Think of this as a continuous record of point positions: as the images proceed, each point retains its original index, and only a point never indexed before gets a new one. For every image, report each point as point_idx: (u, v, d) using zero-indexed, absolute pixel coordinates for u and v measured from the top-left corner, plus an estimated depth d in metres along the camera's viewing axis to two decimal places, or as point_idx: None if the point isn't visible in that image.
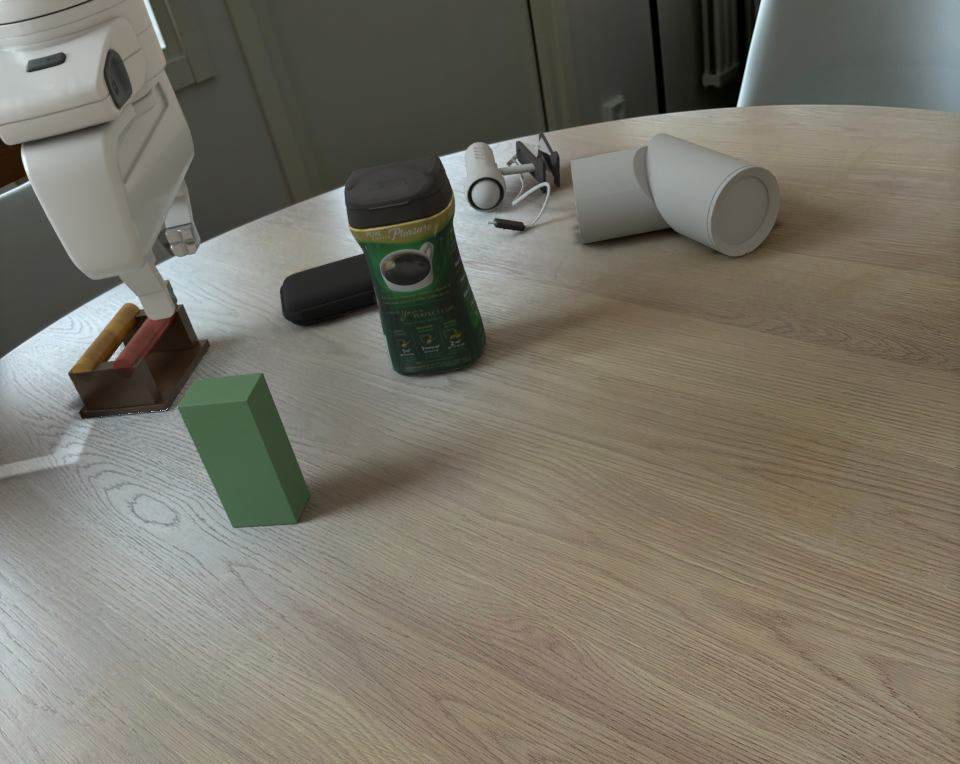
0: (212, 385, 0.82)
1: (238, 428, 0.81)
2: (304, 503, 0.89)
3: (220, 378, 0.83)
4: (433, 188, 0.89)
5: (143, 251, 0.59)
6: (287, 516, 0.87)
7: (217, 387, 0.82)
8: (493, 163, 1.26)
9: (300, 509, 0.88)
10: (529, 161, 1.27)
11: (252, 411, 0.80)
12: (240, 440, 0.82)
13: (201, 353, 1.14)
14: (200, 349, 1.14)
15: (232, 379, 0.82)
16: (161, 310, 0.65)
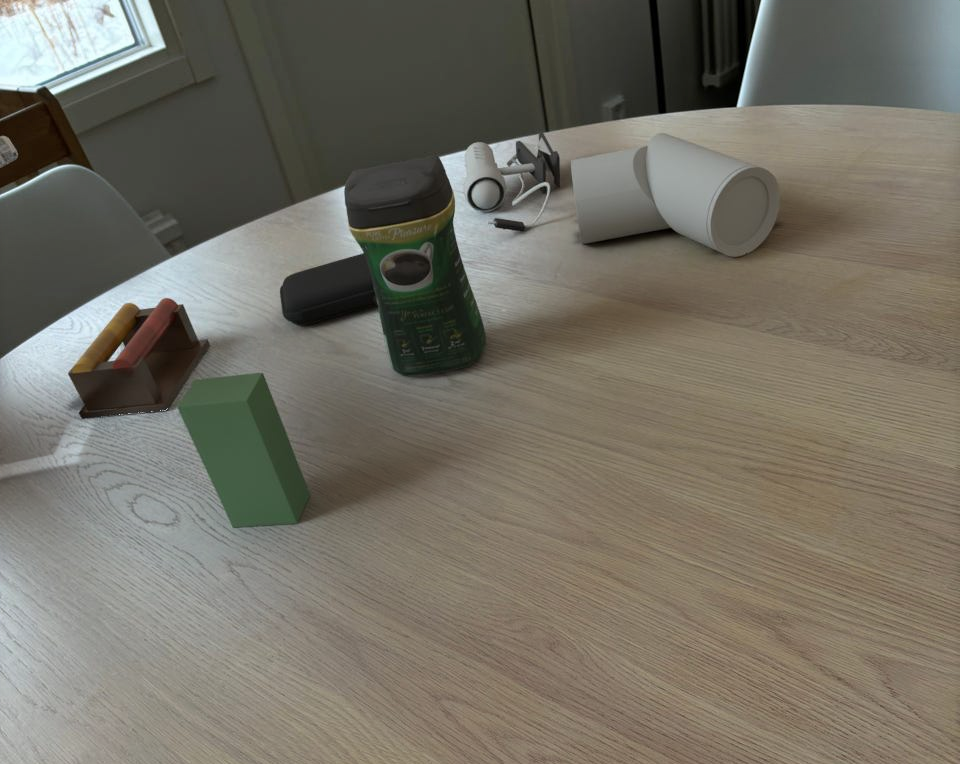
0: (212, 385, 0.82)
1: (238, 428, 0.81)
2: (304, 503, 0.89)
3: (220, 378, 0.83)
4: (433, 188, 0.89)
5: None
6: (287, 516, 0.87)
7: (217, 387, 0.82)
8: (493, 163, 1.26)
9: (300, 509, 0.88)
10: (529, 161, 1.27)
11: (252, 411, 0.80)
12: (240, 440, 0.82)
13: (201, 353, 1.14)
14: (200, 349, 1.14)
15: (232, 379, 0.82)
16: None
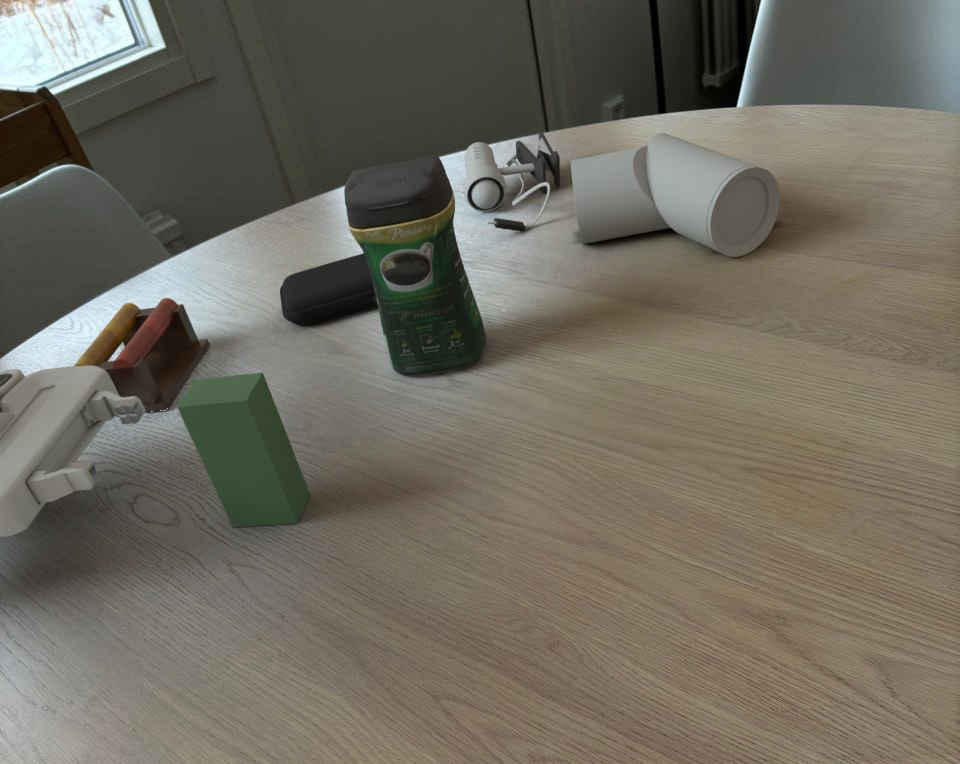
0: (212, 385, 0.82)
1: (238, 428, 0.81)
2: (304, 503, 0.89)
3: (220, 378, 0.83)
4: (433, 188, 0.89)
5: None
6: (287, 516, 0.87)
7: (217, 387, 0.82)
8: (493, 163, 1.26)
9: (300, 509, 0.88)
10: (529, 161, 1.27)
11: (252, 411, 0.80)
12: (240, 440, 0.82)
13: (201, 353, 1.14)
14: (200, 349, 1.14)
15: (232, 379, 0.82)
16: None
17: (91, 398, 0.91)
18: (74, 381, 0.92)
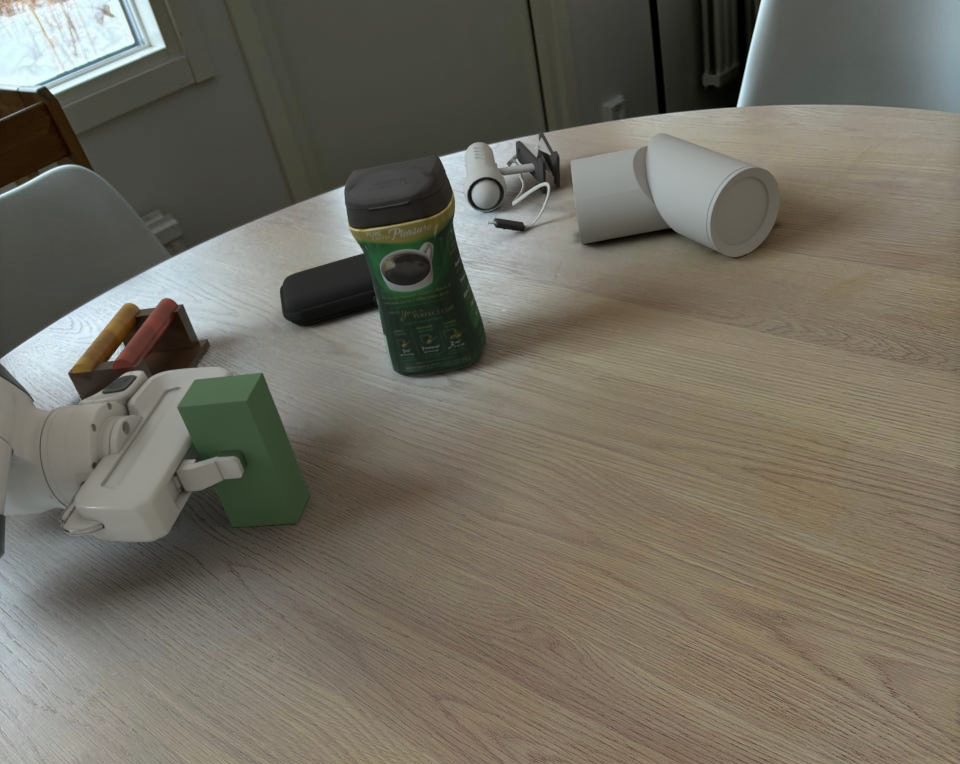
0: (212, 385, 0.82)
1: (238, 428, 0.81)
2: (304, 503, 0.89)
3: (220, 378, 0.83)
4: (433, 188, 0.89)
5: None
6: (287, 516, 0.87)
7: (217, 387, 0.82)
8: (493, 163, 1.26)
9: (300, 509, 0.88)
10: (529, 161, 1.27)
11: (252, 411, 0.80)
12: (240, 440, 0.82)
13: (201, 353, 1.14)
14: (200, 349, 1.14)
15: (231, 379, 0.82)
16: None
17: None
18: None
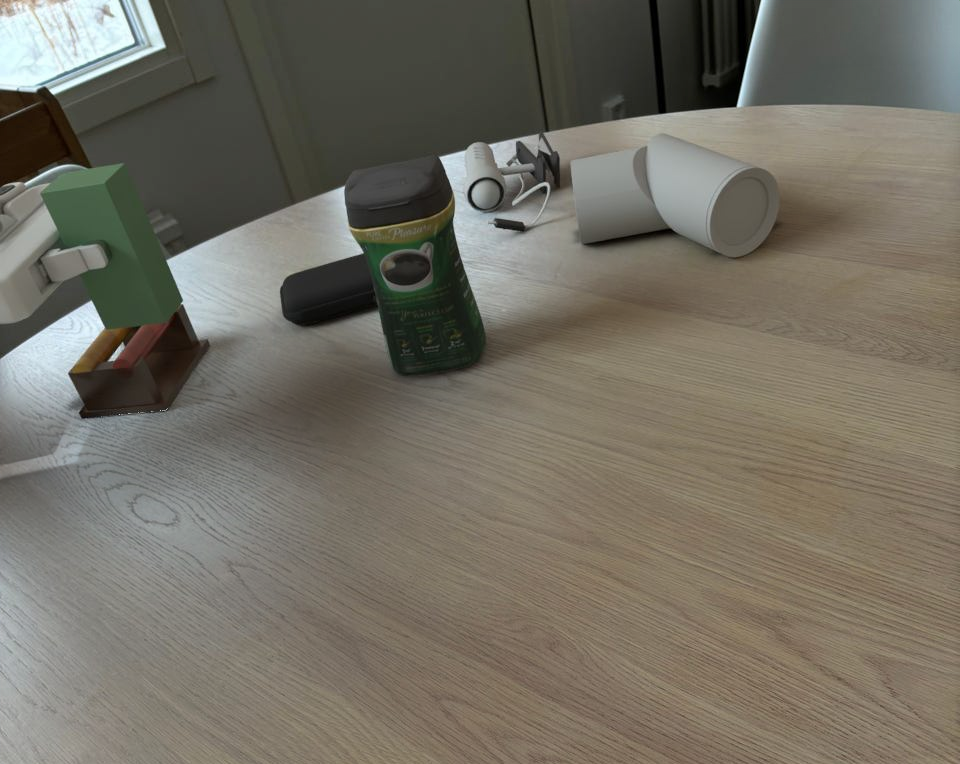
0: (76, 175, 0.84)
1: (100, 215, 0.84)
2: (176, 307, 0.91)
3: (85, 170, 0.85)
4: (433, 188, 0.89)
5: None
6: (156, 314, 0.89)
7: (81, 176, 0.84)
8: (493, 163, 1.26)
9: (170, 310, 0.90)
10: (529, 161, 1.27)
11: (111, 195, 0.82)
12: (103, 229, 0.84)
13: (201, 353, 1.14)
14: (200, 349, 1.14)
15: (95, 170, 0.85)
16: None
17: None
18: None
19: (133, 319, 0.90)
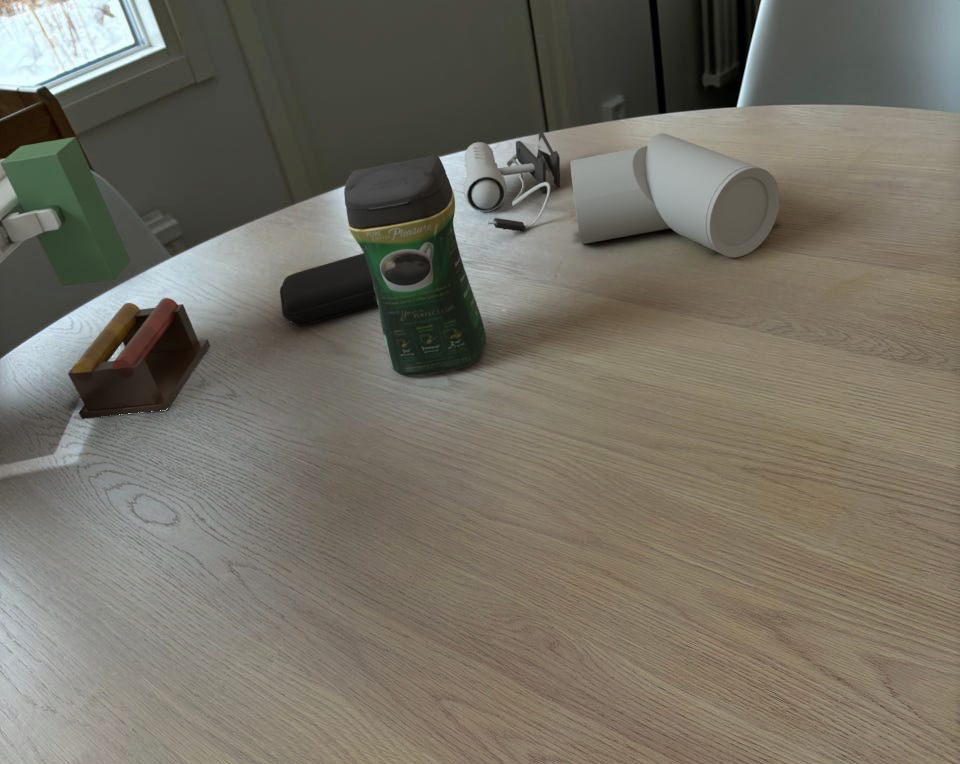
0: (33, 148, 0.96)
1: (53, 182, 0.95)
2: (124, 266, 1.03)
3: (40, 143, 0.97)
4: (433, 188, 0.89)
5: None
6: (105, 272, 1.01)
7: (36, 148, 0.96)
8: (493, 163, 1.26)
9: (118, 269, 1.02)
10: (529, 161, 1.27)
11: (62, 164, 0.94)
12: (56, 195, 0.96)
13: (201, 353, 1.14)
14: (200, 349, 1.14)
15: (49, 143, 0.96)
16: None
17: None
18: None
19: (85, 276, 1.02)
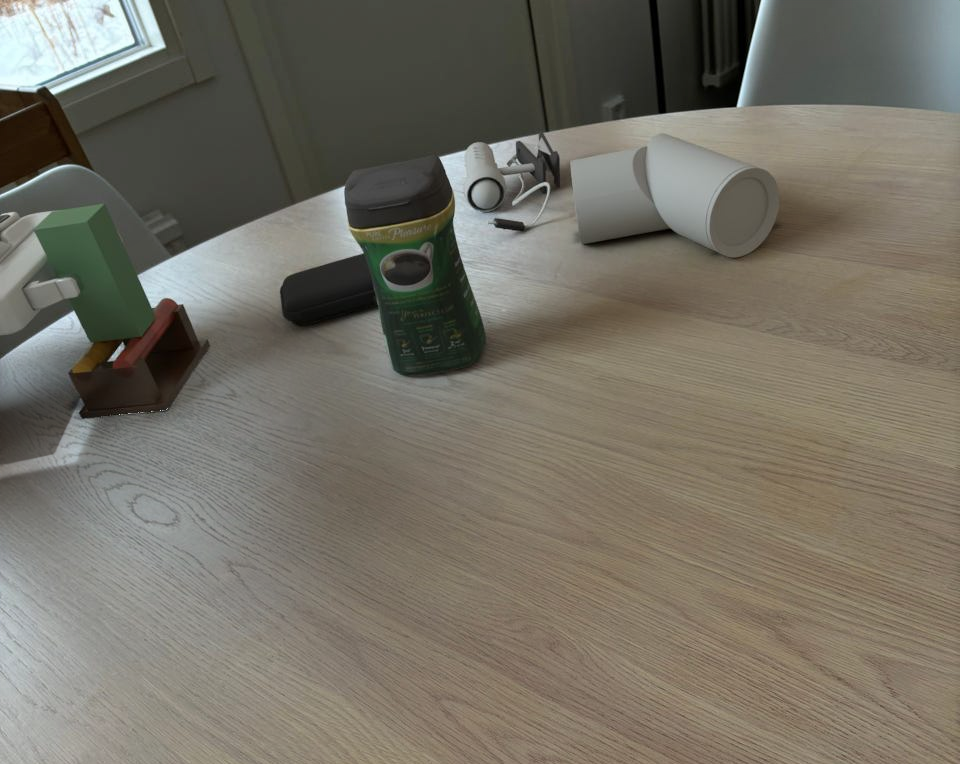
0: (64, 214, 1.01)
1: (84, 247, 1.00)
2: (149, 323, 1.07)
3: (71, 209, 1.01)
4: (433, 188, 0.89)
5: None
6: (132, 330, 1.05)
7: (68, 215, 1.00)
8: (493, 163, 1.26)
9: (144, 326, 1.07)
10: (529, 161, 1.27)
11: (93, 231, 0.99)
12: (86, 259, 1.01)
13: (201, 353, 1.14)
14: (200, 349, 1.14)
15: (80, 209, 1.01)
16: None
17: None
18: None
19: (113, 334, 1.06)
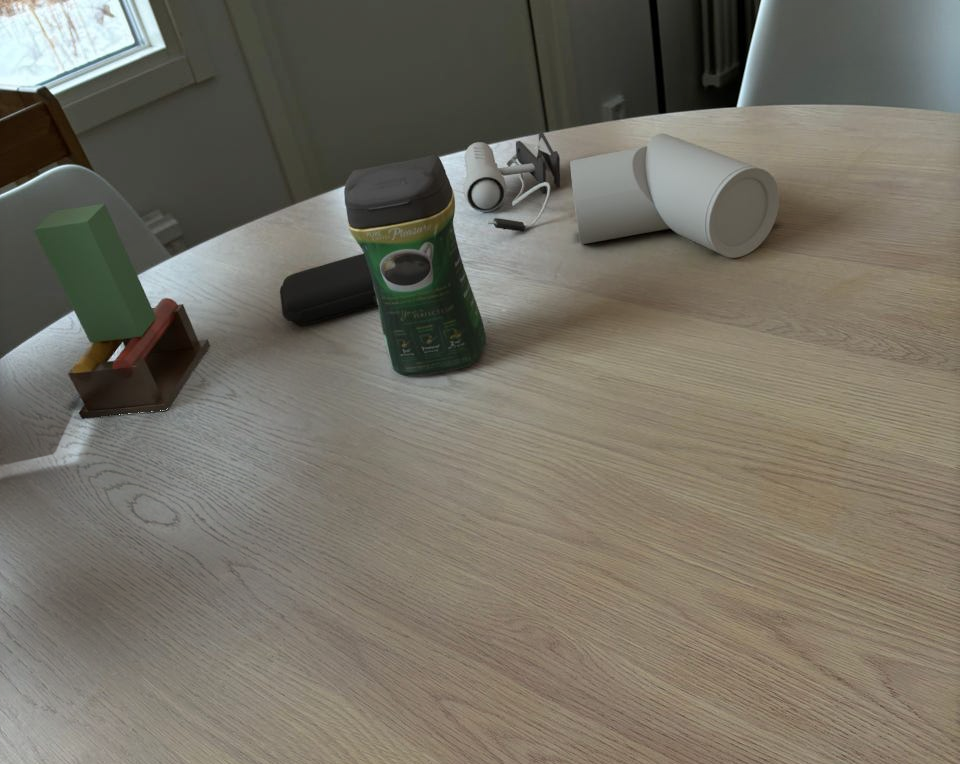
0: (64, 214, 1.01)
1: (84, 247, 1.00)
2: (149, 323, 1.07)
3: (71, 209, 1.01)
4: (433, 188, 0.89)
5: None
6: (132, 330, 1.05)
7: (68, 215, 1.00)
8: (493, 163, 1.26)
9: (144, 326, 1.07)
10: (529, 161, 1.27)
11: (93, 231, 0.99)
12: (86, 259, 1.01)
13: (201, 353, 1.14)
14: (200, 349, 1.14)
15: (80, 209, 1.01)
16: None
17: None
18: None
19: (113, 333, 1.06)
